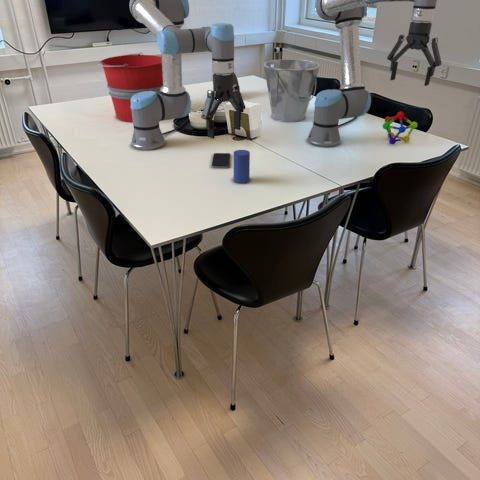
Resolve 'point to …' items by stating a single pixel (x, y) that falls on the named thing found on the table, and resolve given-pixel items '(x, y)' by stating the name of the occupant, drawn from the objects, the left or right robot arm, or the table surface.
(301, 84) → the bucket
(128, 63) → the bucket
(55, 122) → the table surface
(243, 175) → the can
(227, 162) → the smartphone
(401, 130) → the educational toy
